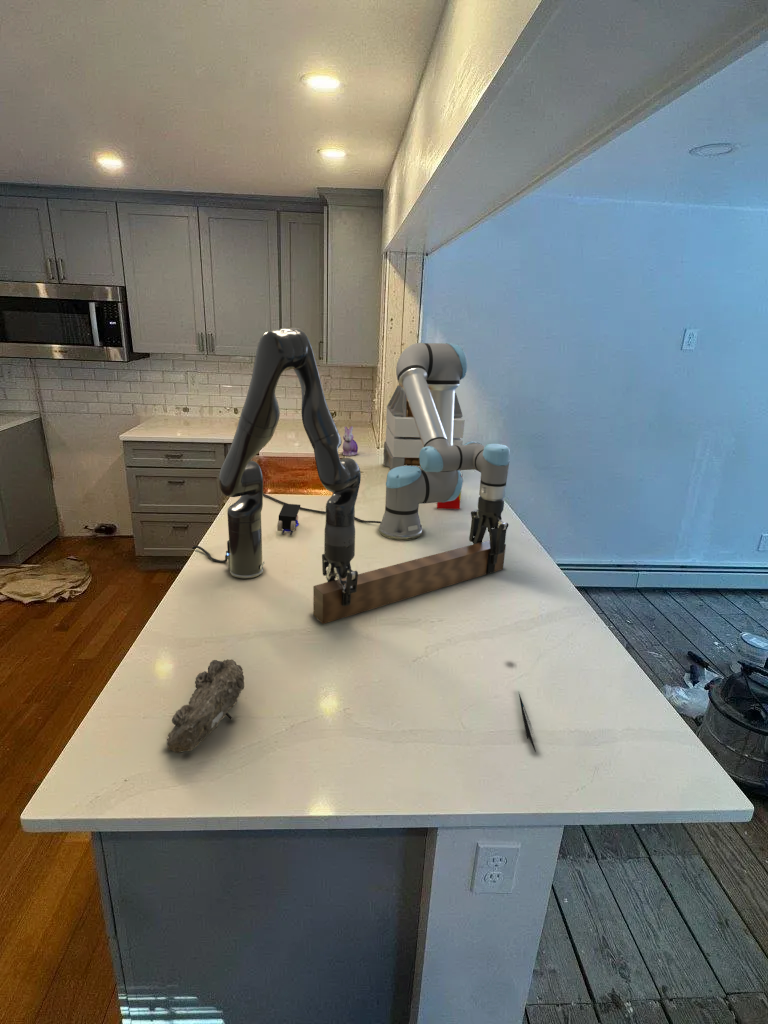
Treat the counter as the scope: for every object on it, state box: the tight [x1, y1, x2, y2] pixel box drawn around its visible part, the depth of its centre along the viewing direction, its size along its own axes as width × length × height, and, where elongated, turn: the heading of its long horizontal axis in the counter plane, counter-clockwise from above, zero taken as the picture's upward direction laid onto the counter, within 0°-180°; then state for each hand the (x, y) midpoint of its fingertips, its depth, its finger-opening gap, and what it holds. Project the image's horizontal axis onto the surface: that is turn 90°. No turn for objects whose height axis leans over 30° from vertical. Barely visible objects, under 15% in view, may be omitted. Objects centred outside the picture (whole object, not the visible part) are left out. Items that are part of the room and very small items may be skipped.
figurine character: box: [276, 503, 301, 536], centre depth 198 cm, size 7×8×15 cm
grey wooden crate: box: [383, 384, 465, 472], centre depth 268 cm, size 34×33×41 cm
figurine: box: [342, 425, 359, 457], centre depth 302 cm, size 9×10×15 cm
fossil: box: [166, 658, 245, 754], centre depth 106 cm, size 22×10×15 cm
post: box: [312, 539, 507, 625], centre depth 159 cm, size 64×5×8 cm, turn 125°
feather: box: [517, 691, 537, 753], centre depth 115 cm, size 2×28×2 cm
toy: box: [436, 475, 463, 510], centre depth 238 cm, size 12×13×30 cm
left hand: (338, 599), depth 145 cm, fingers open, 6 cm apart
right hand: (483, 568), depth 174 cm, fingers closed on post, 5 cm apart
